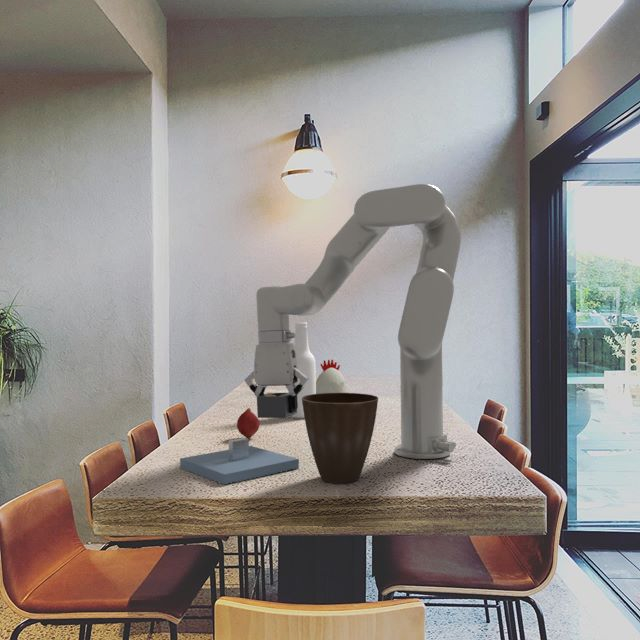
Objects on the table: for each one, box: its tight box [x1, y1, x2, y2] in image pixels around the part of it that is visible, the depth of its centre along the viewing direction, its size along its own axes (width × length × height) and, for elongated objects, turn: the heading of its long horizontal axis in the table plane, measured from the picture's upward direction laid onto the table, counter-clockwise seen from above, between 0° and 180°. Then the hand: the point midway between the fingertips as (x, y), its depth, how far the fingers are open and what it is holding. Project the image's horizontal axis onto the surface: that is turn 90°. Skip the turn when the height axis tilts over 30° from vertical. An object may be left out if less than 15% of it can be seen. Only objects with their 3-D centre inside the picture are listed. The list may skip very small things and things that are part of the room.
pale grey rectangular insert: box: [228, 437, 250, 461], centre depth 128 cm, size 2×4×4 cm, turn 130°
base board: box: [179, 445, 300, 485], centre depth 128 cm, size 18×18×2 cm
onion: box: [236, 407, 260, 439], centre depth 159 cm, size 6×6×8 cm
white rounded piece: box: [316, 359, 350, 394], centre depth 237 cm, size 14×14×15 cm
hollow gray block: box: [256, 392, 297, 419], centre depth 145 cm, size 7×7×5 cm
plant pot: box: [302, 392, 379, 484], centre depth 119 cm, size 15×15×16 cm
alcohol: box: [287, 321, 317, 420], centre depth 193 cm, size 9×9×30 cm
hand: (277, 411), depth 145 cm, fingers closed on hollow gray block, 7 cm apart
